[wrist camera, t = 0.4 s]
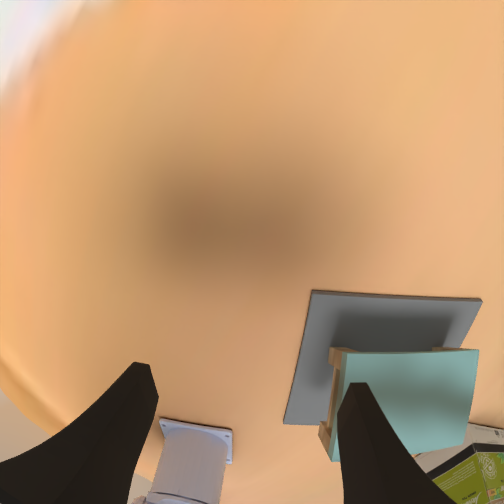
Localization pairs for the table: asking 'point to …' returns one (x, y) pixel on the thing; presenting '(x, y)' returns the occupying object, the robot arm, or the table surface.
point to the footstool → (408, 394)
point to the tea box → (469, 467)
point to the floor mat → (368, 338)
